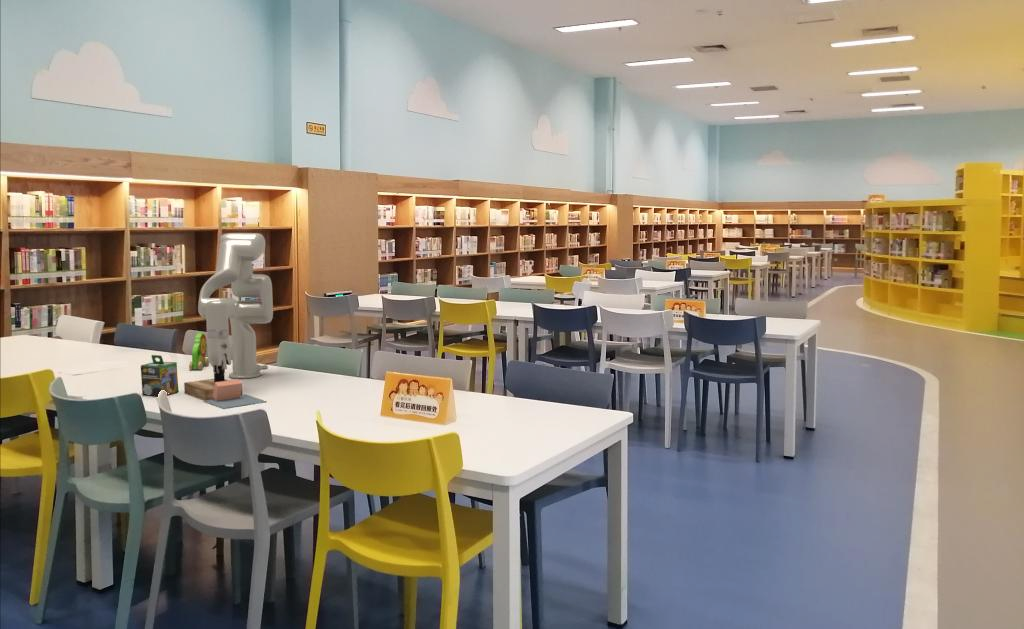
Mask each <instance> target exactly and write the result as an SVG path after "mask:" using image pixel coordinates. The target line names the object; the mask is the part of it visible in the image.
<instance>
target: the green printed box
mask: <svg viewBox="0 0 1024 629" xmlns="http://www.w3.org/2000/svg"><path fill="white" fill-rule="evenodd" d="M150 357H151V360H152V362H149V363H145V364H141V365H140V377H141V378H140V379H141V390H142V391H141V393H142V394H148V395H147V396H149V395H155V396H154V397H158V394H159V392H160V391H161V390H165V391H166V392H167V394H168V393H169V395H171V394H175V393H178V392H179V378H178V365H177V364H178V363H177V362H176V361H164V360H163V355H158V354H151V355H150ZM156 359H159V361H158V360H156Z"/></svg>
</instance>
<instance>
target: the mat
mask: <svg viewBox="0 0 1024 629" xmlns="http://www.w3.org/2000/svg"><path fill="white" fill-rule="evenodd" d="M202 401H203V403H206V404H209V405H212V406H213V407H214V406H215V407H216V408H217V407H218V408H219V409H223V410H225V409H226V410H227V409H233V408H238V407H245V406H250V404H252V405H256V404H255V403H258V404H260V403H259V402H263V401H264V399H261V398H258V397H255V396H252V395H249V394H245V393H244V394H242V395H240V397H239V398H233V399H226V400H219V401H216V400H215V399H211V400H202Z"/></svg>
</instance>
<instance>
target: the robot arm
mask: <svg viewBox="0 0 1024 629" xmlns="http://www.w3.org/2000/svg"><path fill="white" fill-rule="evenodd" d="M219 244H220V245H219V248H218V250H219V251H218V257H217V263H216V269H215V273H214V274H213V275H211V277H209V278H208V279H207V280H206V281H205V283H204V284H203V285H202V287H201V289H200V292H199V297H198V304H197V305H198V306H197V311H198V314H199V315H200V317H201V318H204V319H206V340H207V358H208V362H209V365H211V366H210V367H212V371H213V379H214V383H215V382H221V381H225V373H226V370H227V369H228V366H230V365H231V364H232V372H230V373H229V374H228V377H229V378H231V379H239V380H240V379H241V380H242V379H253V378H258V377H260V376H261V375H262V374H261V373H262V372H261V371H265V370H268V368H269V366H268V365H267V364H263V365H262V364H258V363H257V336H256V331H255V330H254V328H253V327H252V326H251V325H252V324H254V325H256V324H258V325H259V324H269V323H271V322H272V320H273V318H274V316H273V315H274V303H273V300H274V298H273V283H272V280H271V277H270V276H268V275H266V274H258V273H257V274H255V273H253V262H254V261H257V260H259V258H260V257H261V256H262V255H263V254H264V252H265V249H266V239H265V237H264V235H263V234H261V233H257V232H255V233H253V232H227V233H223V234H221V236H220V238H219ZM230 284H231V293H232V295H233V296H234V297H237V298H258V299H259V300H236V299H235V298H232V297H231V298H229V297H211V295H212V294H213V293H214V292H215V291H217V290H219V289H220V288H223V287H226V286H229V285H230ZM229 322H230V324H229ZM229 325H230V330H231V344H230V339H229V338H230V335H229V334H230V332H229V331H230V330H229ZM227 365H228V366H227Z"/></svg>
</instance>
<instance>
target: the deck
mask: <svg viewBox="0 0 1024 629" xmlns="http://www.w3.org/2000/svg"><path fill="white" fill-rule="evenodd" d="M225 381H228V379H225ZM214 384H215V383H214V378H209V379H201V380H193V381H187V382H186V381H185V382H183V386H184V394H186V395H189V396H192V397H193V398H197V399H200V400H202V401H205V400H211V399H214V398H213V391H214ZM241 395H243V388H242V389H241Z"/></svg>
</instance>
